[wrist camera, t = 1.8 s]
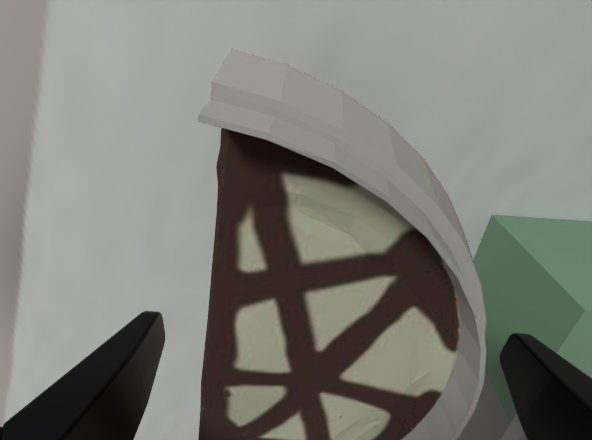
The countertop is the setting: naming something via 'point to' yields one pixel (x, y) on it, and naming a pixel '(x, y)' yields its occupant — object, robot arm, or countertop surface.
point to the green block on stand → (530, 306)
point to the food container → (332, 272)
